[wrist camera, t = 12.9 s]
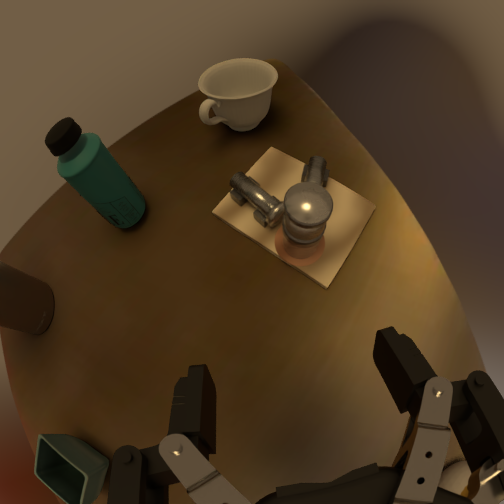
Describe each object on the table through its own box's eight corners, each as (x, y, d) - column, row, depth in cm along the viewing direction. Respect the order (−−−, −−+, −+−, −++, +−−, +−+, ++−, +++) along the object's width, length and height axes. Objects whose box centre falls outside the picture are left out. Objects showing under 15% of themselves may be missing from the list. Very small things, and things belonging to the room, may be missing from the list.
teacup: (185, 142, 43) (168, 99, 34) (235, 94, 47) (228, 53, 38) (243, 167, 40) (235, 119, 31) (290, 112, 44) (292, 67, 35)
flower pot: (77, 424, 28) (37, 432, 20) (123, 457, 26) (88, 476, 18) (69, 462, 25) (33, 474, 17) (112, 494, 24) (80, 514, 15)
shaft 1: (289, 215, 36) (291, 199, 32) (270, 233, 35) (269, 219, 32) (247, 180, 38) (245, 163, 35) (228, 196, 38) (224, 179, 34)
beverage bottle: (151, 192, 40) (89, 97, 22) (150, 231, 38) (72, 140, 19) (116, 201, 40) (46, 118, 22) (112, 238, 38) (27, 162, 19)
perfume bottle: (466, 448, 22) (514, 464, 11) (461, 491, 19) (501, 513, 7) (427, 469, 22) (472, 497, 11) (423, 513, 19) (459, 544, 8)
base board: (212, 216, 38) (210, 212, 37) (271, 150, 41) (271, 146, 40) (325, 290, 33) (326, 288, 32) (374, 209, 36) (376, 205, 35)
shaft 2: (318, 221, 35) (323, 206, 32) (292, 214, 36) (294, 199, 32) (328, 174, 38) (332, 157, 34) (304, 168, 38) (306, 151, 35)
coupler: (274, 246, 34) (273, 206, 25) (294, 219, 36) (300, 173, 26) (305, 267, 33) (317, 233, 24) (325, 238, 34) (342, 196, 25)
